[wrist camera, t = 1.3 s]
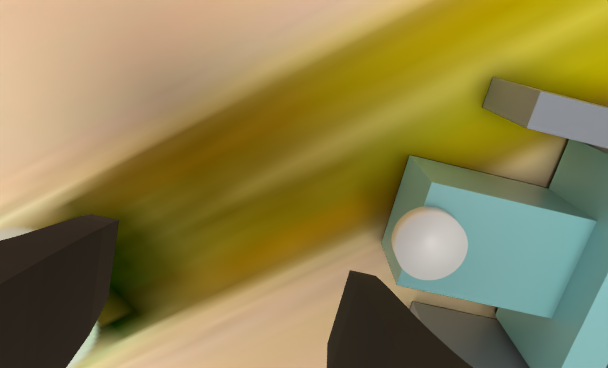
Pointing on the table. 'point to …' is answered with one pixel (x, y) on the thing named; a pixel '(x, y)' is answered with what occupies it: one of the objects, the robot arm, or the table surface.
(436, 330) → the grey tray
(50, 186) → the table surface
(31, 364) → the robot arm
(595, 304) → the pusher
